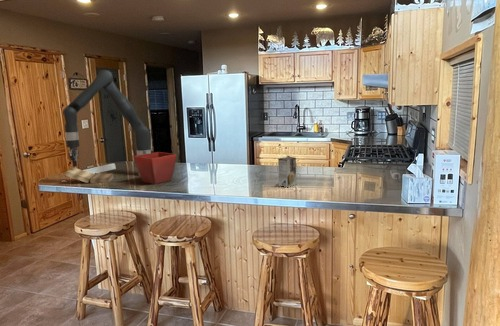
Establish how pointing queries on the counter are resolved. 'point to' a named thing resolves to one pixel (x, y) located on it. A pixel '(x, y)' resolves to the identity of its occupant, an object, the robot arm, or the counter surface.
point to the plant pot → (155, 166)
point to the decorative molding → (101, 168)
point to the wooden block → (101, 178)
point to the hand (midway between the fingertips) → (75, 166)
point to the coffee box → (287, 171)
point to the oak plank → (79, 175)
